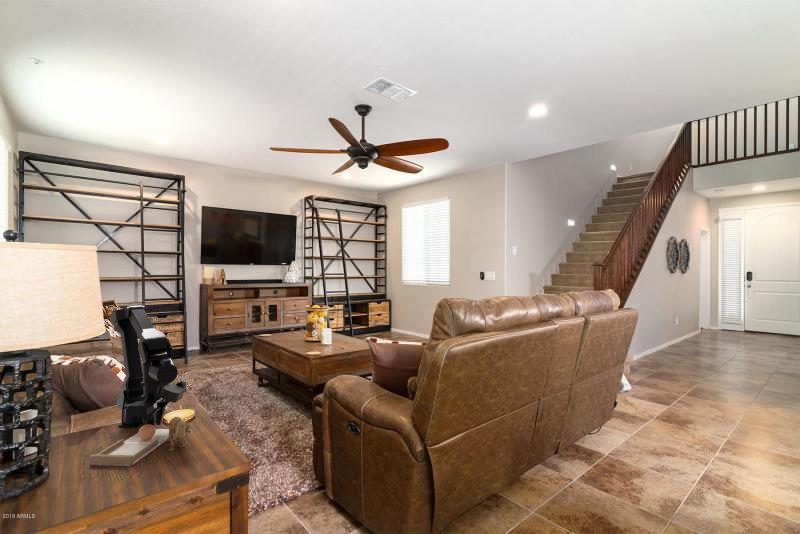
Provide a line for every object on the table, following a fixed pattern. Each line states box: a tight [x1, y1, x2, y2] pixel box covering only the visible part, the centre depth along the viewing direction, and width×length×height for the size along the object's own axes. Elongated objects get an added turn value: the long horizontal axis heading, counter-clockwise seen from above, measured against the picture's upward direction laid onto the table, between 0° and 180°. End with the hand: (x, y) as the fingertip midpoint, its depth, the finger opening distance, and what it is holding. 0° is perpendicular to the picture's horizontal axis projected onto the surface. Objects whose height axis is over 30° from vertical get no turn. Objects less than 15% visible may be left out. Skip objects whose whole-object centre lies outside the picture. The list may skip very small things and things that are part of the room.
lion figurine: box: [166, 416, 194, 452], centre depth 118 cm, size 15×5×9 cm, turn 44°
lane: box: [89, 428, 169, 467], centre depth 116 cm, size 11×22×2 cm, turn 179°
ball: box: [137, 423, 157, 440], centre depth 120 cm, size 4×4×4 cm
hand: (155, 427), depth 123 cm, fingers open, 3 cm apart
